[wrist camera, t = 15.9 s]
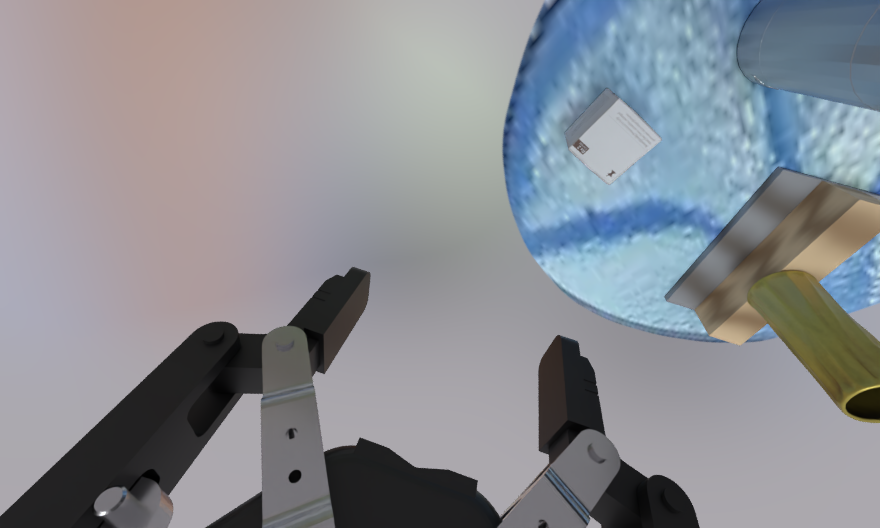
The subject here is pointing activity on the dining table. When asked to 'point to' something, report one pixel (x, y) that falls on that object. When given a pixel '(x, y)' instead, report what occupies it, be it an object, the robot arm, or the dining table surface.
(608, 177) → the skincare box
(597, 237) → the dining table surface
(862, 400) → the vase
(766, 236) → the ridge
